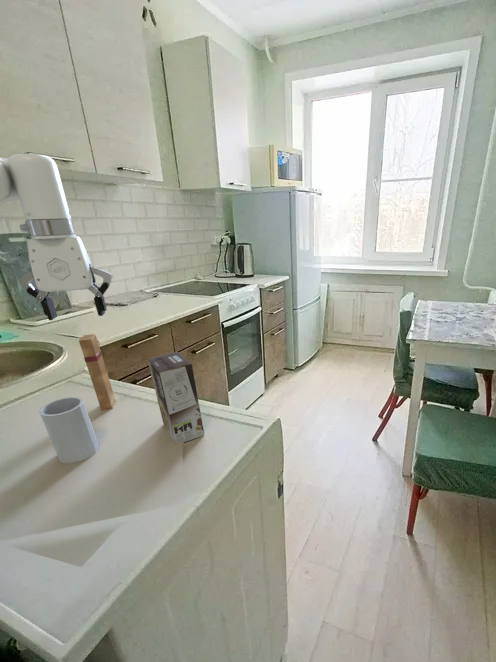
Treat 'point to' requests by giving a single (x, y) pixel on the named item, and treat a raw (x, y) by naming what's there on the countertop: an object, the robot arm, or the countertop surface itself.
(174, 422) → the coffee box
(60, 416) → the light gray cup
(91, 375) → the chopstick bundle
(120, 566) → the countertop surface
